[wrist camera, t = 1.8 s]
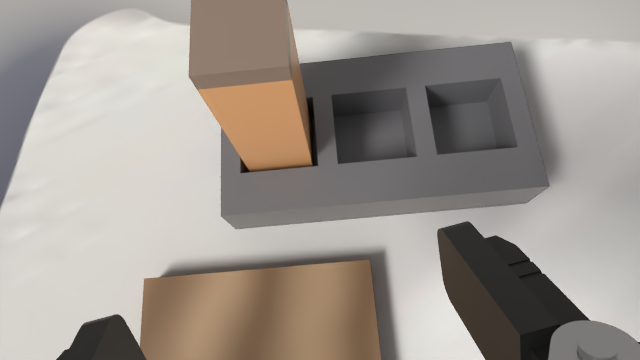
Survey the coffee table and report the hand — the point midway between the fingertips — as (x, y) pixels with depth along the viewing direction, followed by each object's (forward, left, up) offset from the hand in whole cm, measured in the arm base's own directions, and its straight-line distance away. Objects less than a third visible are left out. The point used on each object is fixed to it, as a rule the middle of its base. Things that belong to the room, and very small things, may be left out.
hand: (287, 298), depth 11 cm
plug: (+2, -11, -16) cm, 20 cm away
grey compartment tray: (-4, -11, -17) cm, 21 cm away
